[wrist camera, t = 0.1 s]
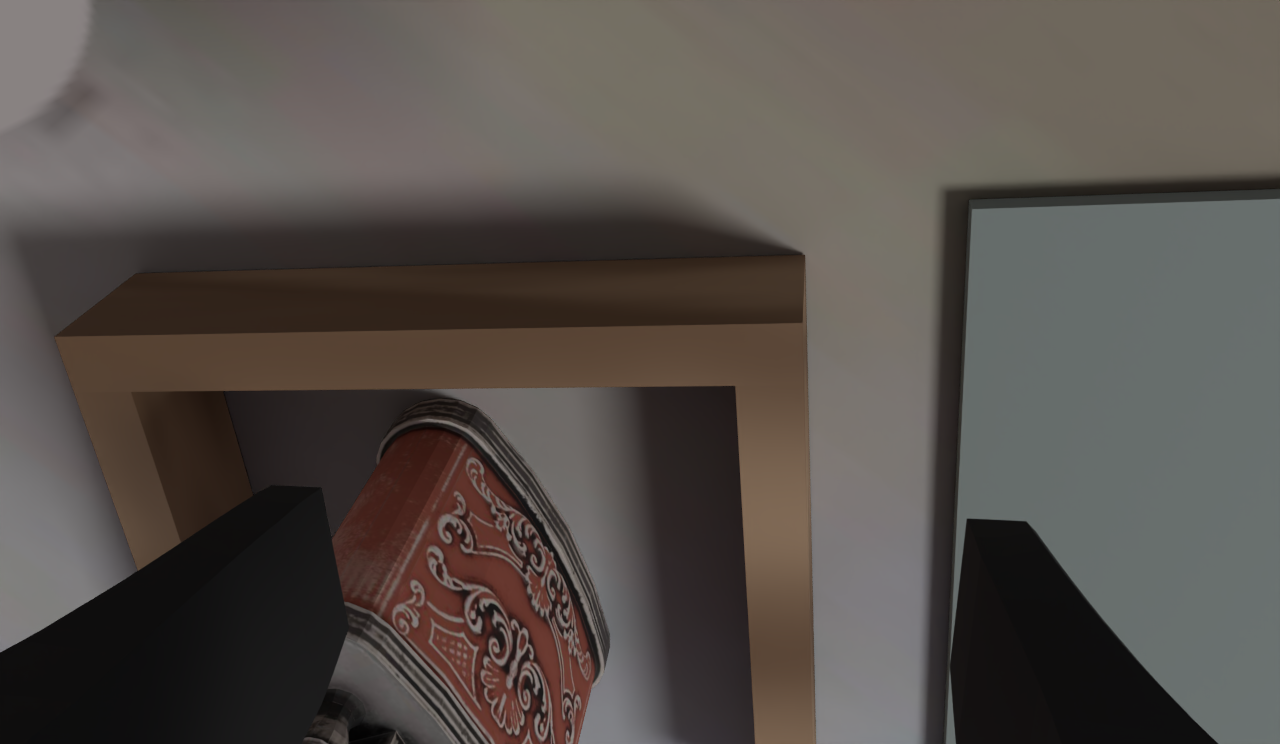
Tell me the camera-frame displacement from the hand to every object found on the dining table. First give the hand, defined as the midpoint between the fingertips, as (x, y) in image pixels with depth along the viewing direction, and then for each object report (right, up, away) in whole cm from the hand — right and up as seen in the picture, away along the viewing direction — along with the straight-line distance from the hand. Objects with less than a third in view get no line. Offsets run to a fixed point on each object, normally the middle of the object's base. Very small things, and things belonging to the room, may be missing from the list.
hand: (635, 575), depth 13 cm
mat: (+11, -3, +12) cm, 17 cm away
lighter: (-3, -2, +14) cm, 14 cm away
